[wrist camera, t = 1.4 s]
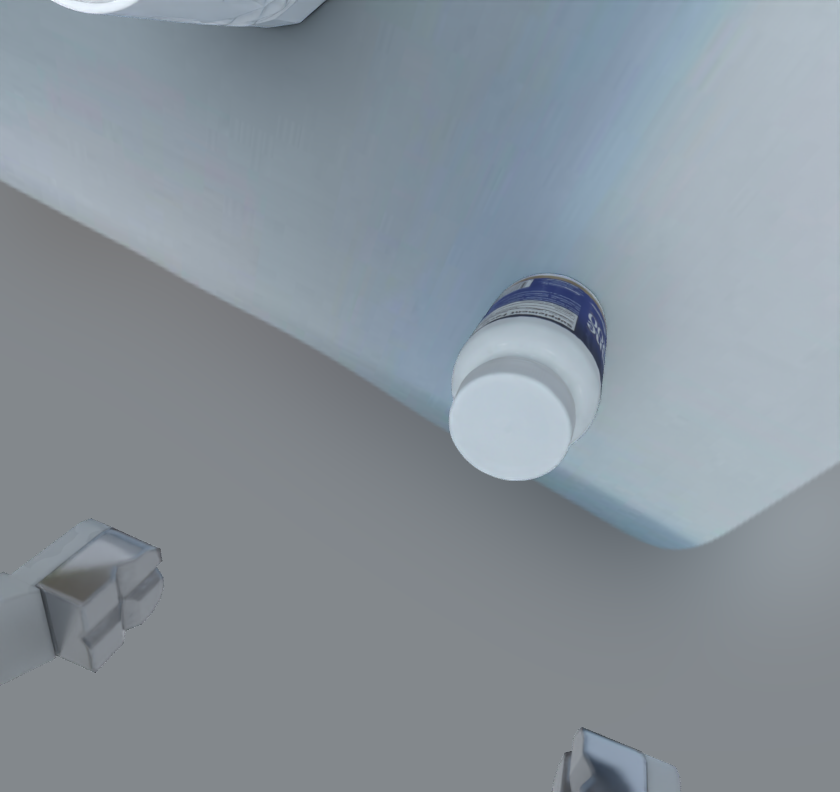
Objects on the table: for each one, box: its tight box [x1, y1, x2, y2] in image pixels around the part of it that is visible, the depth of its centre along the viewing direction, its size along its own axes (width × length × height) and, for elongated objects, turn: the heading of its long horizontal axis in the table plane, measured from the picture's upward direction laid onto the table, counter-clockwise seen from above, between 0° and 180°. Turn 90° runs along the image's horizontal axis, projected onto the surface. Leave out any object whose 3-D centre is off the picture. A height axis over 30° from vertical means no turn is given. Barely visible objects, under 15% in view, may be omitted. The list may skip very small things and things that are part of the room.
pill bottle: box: [449, 273, 607, 481], centre depth 22 cm, size 5×5×10 cm
